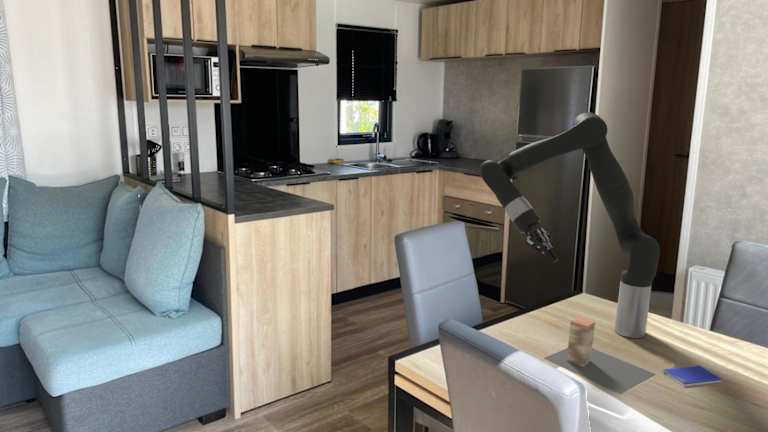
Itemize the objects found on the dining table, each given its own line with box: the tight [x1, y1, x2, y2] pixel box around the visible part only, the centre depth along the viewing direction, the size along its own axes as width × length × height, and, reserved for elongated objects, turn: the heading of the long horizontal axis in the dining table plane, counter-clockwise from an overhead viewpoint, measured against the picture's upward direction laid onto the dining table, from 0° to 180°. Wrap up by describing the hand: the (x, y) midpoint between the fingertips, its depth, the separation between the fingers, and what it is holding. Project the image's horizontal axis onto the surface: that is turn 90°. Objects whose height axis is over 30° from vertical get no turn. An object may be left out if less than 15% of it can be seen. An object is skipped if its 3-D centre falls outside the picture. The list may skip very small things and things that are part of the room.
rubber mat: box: [543, 347, 656, 394], centre depth 160 cm, size 18×24×1 cm
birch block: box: [567, 316, 596, 367], centre depth 161 cm, size 5×5×12 cm
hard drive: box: [662, 365, 723, 387], centre depth 156 cm, size 2×8×12 cm
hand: (555, 261), depth 168 cm, fingers closed
